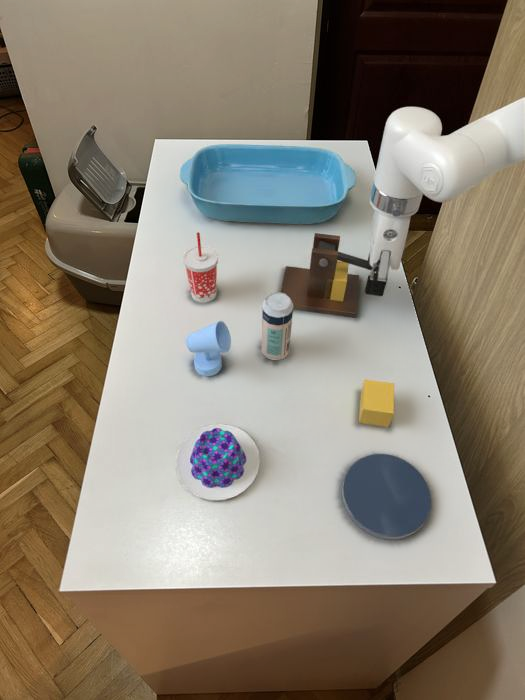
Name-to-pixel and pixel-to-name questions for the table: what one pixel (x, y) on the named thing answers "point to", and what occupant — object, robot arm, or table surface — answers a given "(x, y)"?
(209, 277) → the beverage cup
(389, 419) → the butter pat
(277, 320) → the supplement bottle
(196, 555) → the table surface
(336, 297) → the butter
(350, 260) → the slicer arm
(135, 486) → the table surface
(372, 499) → the plate
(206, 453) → the pudding
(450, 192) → the robot arm
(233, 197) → the casserole dish
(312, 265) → the slicer
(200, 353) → the spotlight
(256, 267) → the table surface
